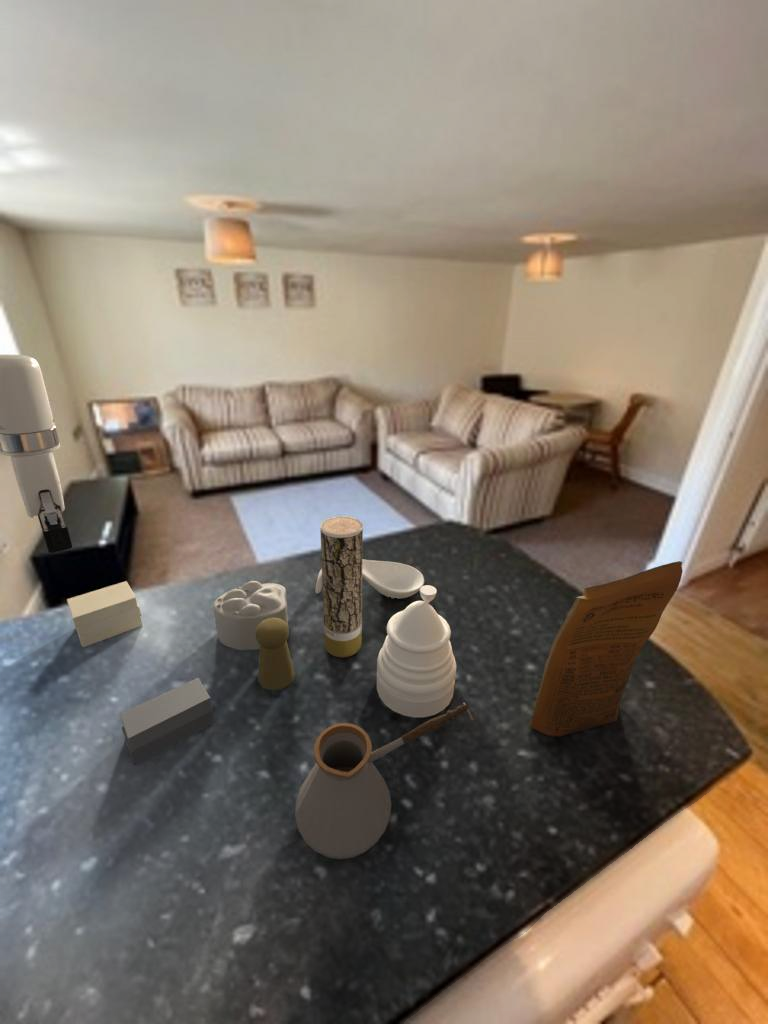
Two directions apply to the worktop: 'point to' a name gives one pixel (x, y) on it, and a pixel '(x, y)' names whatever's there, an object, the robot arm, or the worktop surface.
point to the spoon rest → (388, 578)
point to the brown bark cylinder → (342, 584)
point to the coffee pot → (350, 789)
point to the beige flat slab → (101, 604)
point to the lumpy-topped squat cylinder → (248, 613)
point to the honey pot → (417, 660)
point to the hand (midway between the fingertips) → (56, 538)
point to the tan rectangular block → (109, 627)
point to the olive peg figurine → (274, 654)
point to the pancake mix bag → (600, 650)
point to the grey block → (166, 719)
